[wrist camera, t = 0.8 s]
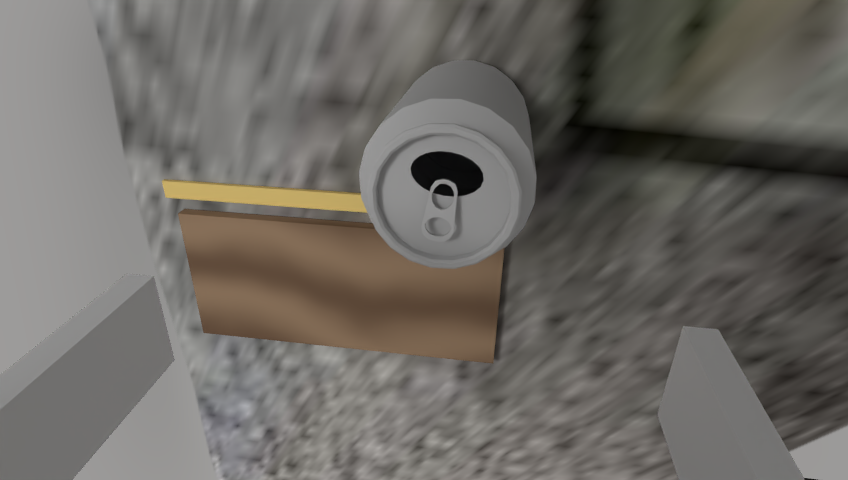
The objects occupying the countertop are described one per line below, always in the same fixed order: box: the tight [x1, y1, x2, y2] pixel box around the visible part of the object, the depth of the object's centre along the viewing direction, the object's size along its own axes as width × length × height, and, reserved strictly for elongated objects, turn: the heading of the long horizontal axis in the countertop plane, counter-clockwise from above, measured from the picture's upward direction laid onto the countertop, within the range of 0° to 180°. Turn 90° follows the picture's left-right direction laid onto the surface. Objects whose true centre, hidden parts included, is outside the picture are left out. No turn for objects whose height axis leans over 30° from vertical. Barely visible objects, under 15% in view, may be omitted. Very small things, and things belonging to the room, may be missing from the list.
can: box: [359, 60, 537, 269], centre depth 26 cm, size 8×8×12 cm
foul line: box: [162, 179, 367, 213], centre depth 35 cm, size 1×24×1 cm, turn 89°
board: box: [178, 209, 504, 363], centre depth 38 cm, size 10×22×1 cm, turn 89°
